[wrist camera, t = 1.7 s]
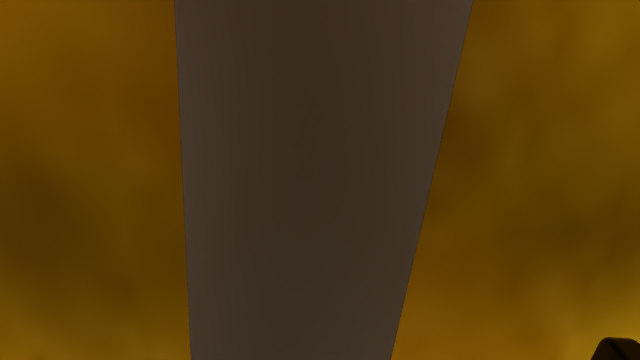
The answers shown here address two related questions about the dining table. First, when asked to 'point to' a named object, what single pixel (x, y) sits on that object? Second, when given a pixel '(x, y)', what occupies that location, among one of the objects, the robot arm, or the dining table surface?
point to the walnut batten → (308, 167)
